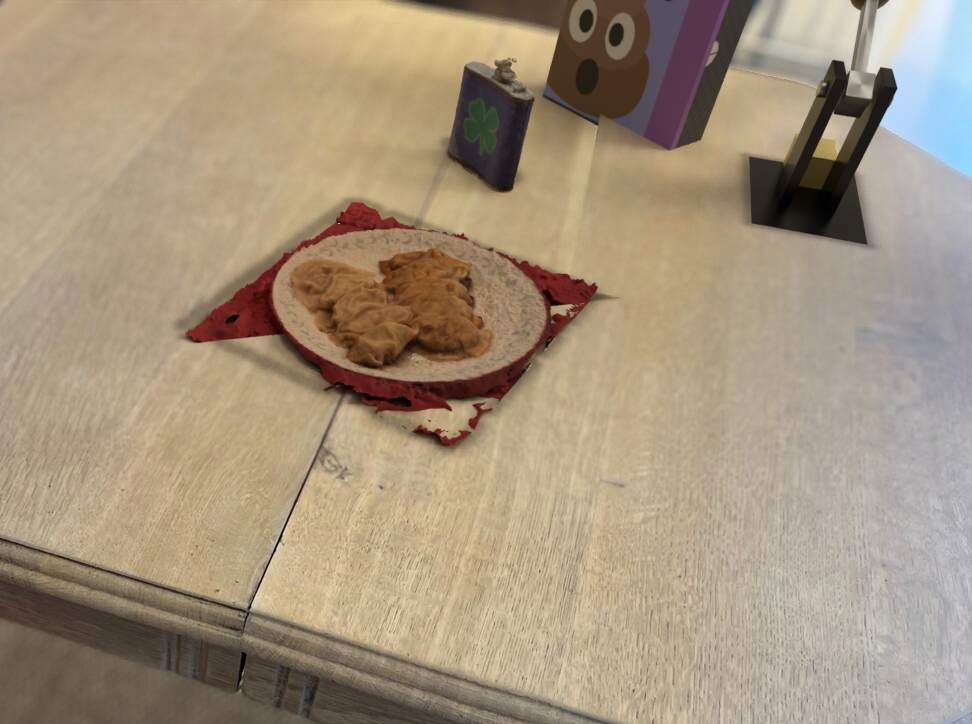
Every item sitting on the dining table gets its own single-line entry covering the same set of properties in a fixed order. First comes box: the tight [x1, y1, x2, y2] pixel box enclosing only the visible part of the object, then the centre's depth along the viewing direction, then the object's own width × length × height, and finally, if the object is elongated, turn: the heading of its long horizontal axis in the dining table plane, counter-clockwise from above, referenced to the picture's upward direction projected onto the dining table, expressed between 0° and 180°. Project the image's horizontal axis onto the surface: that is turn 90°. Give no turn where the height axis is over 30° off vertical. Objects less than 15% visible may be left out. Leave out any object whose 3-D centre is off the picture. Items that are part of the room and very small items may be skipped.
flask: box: [446, 57, 535, 194], centre depth 100 cm, size 9×3×11 cm, turn 28°
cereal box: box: [542, 0, 755, 151], centre depth 104 cm, size 17×5×24 cm, turn 33°
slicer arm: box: [833, 0, 890, 118], centre depth 94 cm, size 15×4×4 cm, turn 162°
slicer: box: [748, 59, 898, 246], centre depth 96 cm, size 14×10×13 cm
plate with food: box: [184, 201, 599, 446], centre depth 85 cm, size 24×26×3 cm
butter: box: [782, 133, 838, 190], centre depth 102 cm, size 5×4×3 cm
